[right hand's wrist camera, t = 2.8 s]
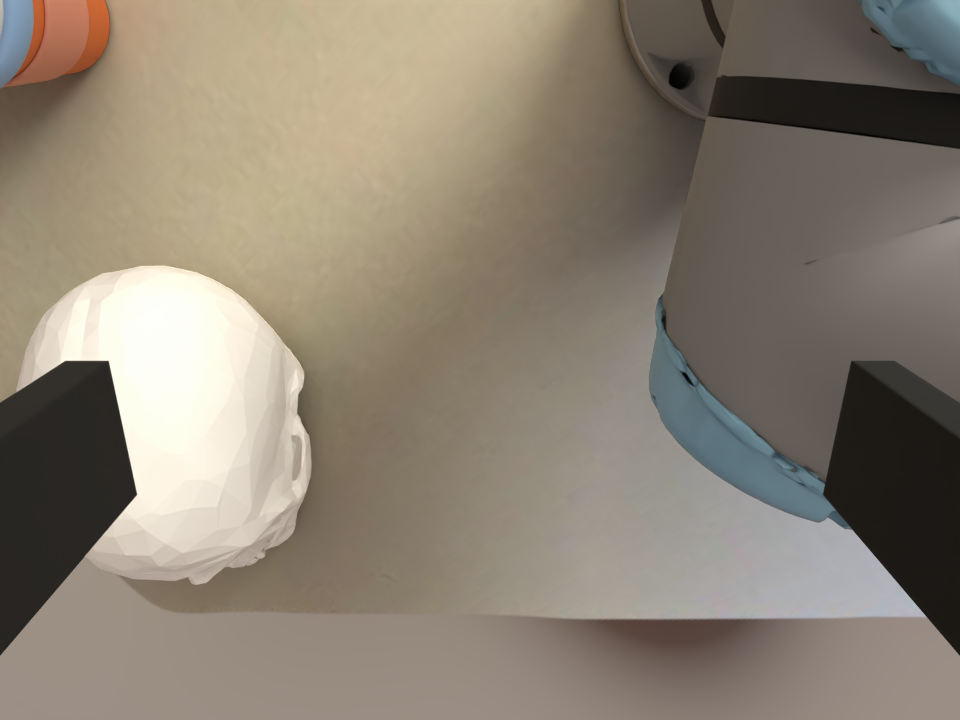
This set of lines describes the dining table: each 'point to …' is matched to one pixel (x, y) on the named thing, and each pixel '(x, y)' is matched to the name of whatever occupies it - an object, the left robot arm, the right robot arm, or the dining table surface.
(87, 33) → the cup with straw
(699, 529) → the dining table surface
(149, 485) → the skull
